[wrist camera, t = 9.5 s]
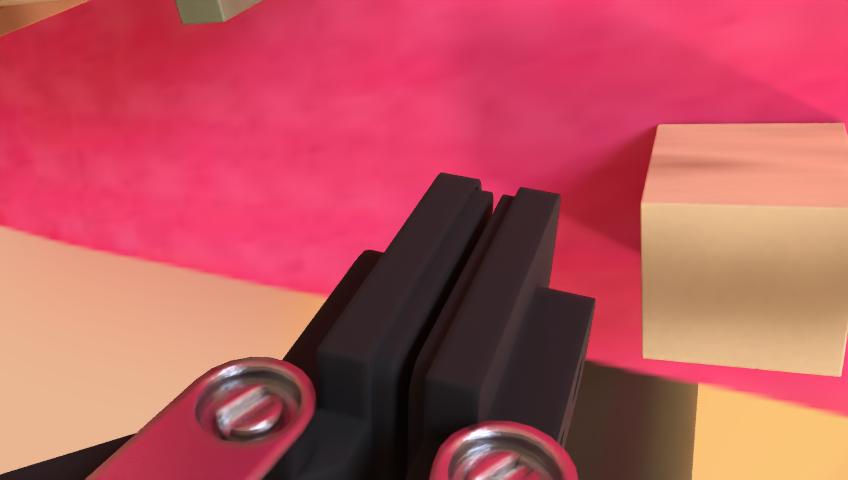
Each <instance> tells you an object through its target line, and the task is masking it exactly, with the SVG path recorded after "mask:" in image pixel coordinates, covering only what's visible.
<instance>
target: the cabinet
mask: <svg viewBox="0 0 848 480" xmlns="http://www.w3.org/2000/svg"><path fill="white" fill-rule="evenodd" d="M88 1H90V0H74V1H62V2H50V3H38V4H26V5H14V6H2V7H0V37H2V36H4V35H7V34H9V33H12V32H14V31H17V30H19V29H22V28H24V27H26V26H29V25H31V24H34V23H36V22H39V21H41V20H44V19H46V18H48V17H51V16H53V15H56V14H58V13H61V12H63V11H66V10H68V9H71V8H73V7H75V6H78V5H80V4H83V3H85V2H88Z"/></svg>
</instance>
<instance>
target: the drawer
mask: <svg viewBox="0 0 848 480" xmlns="http://www.w3.org/2000/svg"><path fill="white" fill-rule="evenodd" d="M62 1H74V0H0V7H2V6H14V5H26V4H38V3H50V2H62ZM261 1H263V0H175V2H176V6H177V9H178V12H179V16H180V19H181V22H182V24H184V25H190V24H205V23H221V22H225V21H227V20H229V19H231V18H233V17H234V16H236V15H238V14H240V13H242V12H243V11H245V10H247V9H249V8H251V7H252V6H254V5H256V4H258V3H260V2H261Z"/></svg>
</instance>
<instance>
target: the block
mask: <svg viewBox="0 0 848 480" xmlns="http://www.w3.org/2000/svg"><path fill="white" fill-rule="evenodd" d="M640 226H641V312H642V357H643V358H645V359H656V360H666V361H677V362H688V363H698V364H709V365H719V366H730V367H740V368H751V369H762V370H772V371H783V372H793V373H804V374H815V375H825V376H836V377H840V376H841V373H842V367H843V360H844V354H845V347H846V340H847V334H848V136H847V133H846V129H845V125H844V123H756V124H659V125H658V126H657V130H656V134H655V139H654V144H653V148H652V153H651V157H650V162H649V166H648V171H647V175H646V180H645V184H644V189H643V194H642V198H641V203H640Z"/></svg>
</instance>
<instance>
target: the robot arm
mask: <svg viewBox="0 0 848 480" xmlns="http://www.w3.org/2000/svg"><path fill="white" fill-rule="evenodd" d="M560 202H561V196H560V194H555V193H550V192H545V191H539V190H534V189H528V188H523V187H520V188H519V190H518V192H517V194H516V196H515V197H514V196H509V195H503V196H502V197H501V199H500V201H499V203H498V205H497V206H496V208H495V210H494V212H493V214H492V211H493V193H492V192H488V191H482V190H481V182H480V180H479V179H474V178H469V177H463V176H458V175H452V174H447V173H440V174H439V175H438V176H437V177H436V179H435V180H434V182H433V183H432V185H431V186H430V187H429V189H428V190H427V192H426V193H425V195H424V196H423V197H422V199H421V200H420V202H419V203H418V205H417V206H416V208H415V209H414V210H413V212H412V213H411V215H410V216H409V218H408V219H407V220H406V222H405V223H404V225H403V226H402V228H401V229H400V231H399V232H398V233H397V235H396V236H395V238H394V239H393V241H392V242H391V243H390V245H389V246H388V248H387V249H386V251H385V252H384V253H383V252H378V251H374V250H366V251H364V252H363V253H362V254H361V255H360V256H359V257H358V258H357V260H356V261H355V262H354V264H353V265H352V266H351V268H350V269H349V270H348V272H347V273H346V274H345V276H344V277H343V279H342V280H341V281H340V283H339V284H338V285H337V287H336V288H335V289H334V291H333V292H332V293H331V295H330V296H329V297H328V299H327V300H326V302H325V303H324V304H323V306H322V307H321V308H320V310H319V311H318V312H317V314H316V315H315V317H314V318H313V319H312V321H311V322H310V323H309V325H308V326H307V327H306V329H305V330H304V331H303V333H302V334H301V335H300V337H299V338H298V340H297V341H296V342H295V344H294V345H293V346H292V348H291V349H290V350H289V352H288V353H287V354H286V356H285V357H284V358H283V360H278V359H274V358H269V357H248V358H243V359H238V360H232V361H229V362H226V363H224V364H222V365H219V366H217V367H214V368H212V369H210V370H209V371H208V372H206V373H205V374H203V375H202V376H200V377H199V378H198V379H196V380H195V381H194V382H193V383H192V384H191V385H190V386H188V387H187V388H186V389H185V390H184V391H183V392H182V393H181V394H179V395H178V396H177V397H176V398H175V399H174V400H173V401H172V402H171V403H169V405H167V406H166V407H165V408H164V409H163V410H162V411H161V412H159V413H158V414H157V415H156V416H155V417H154V418H153V419H152V420H151V421H149V422H148V423H147V424H146V425H145V426H144V427H143V428H142V429H140V430H139V431H138V432H137V433H135V434H132V435H128V436H125V437H122V438H119V439H115V440H112V441H109V442H105V443H102V444H99V445H96V446H93V447H89V448H86V449H83V450H79V451H76V452H73V453H69V454H66V455H63V456H59V457H56V458H53V459H50V460H46V461H43V462H40V463H36V464H33V465H30V466H27V467H24V468H20V469H17V470H14V471H10V472H7V473H4V474H1V475H0V480H578V476H577V470H576V467H575V465H574V464H573V462H572V460H571V458H570V457H569V455H568V453H567V451H566V450H565V449H564V446H565V442H566V438H567V434H568V430H569V426H570V422H571V418H572V414H573V410H574V406H575V402H576V398H577V394H578V390H579V385H580V381H581V376H582V372H583V367H584V362H585V357H586V352H587V347H588V342H589V336H590V331H591V325H592V320H593V314H594V308H595V301H596V300H595V298H591V297H586V296H581V295H577V294H572V293H568V292H563V291H558V290H554V289H549V282H550V275H551V268H552V261H553V254H554V247H555V239H556V232H557V225H558V218H559V211H560Z"/></svg>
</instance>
